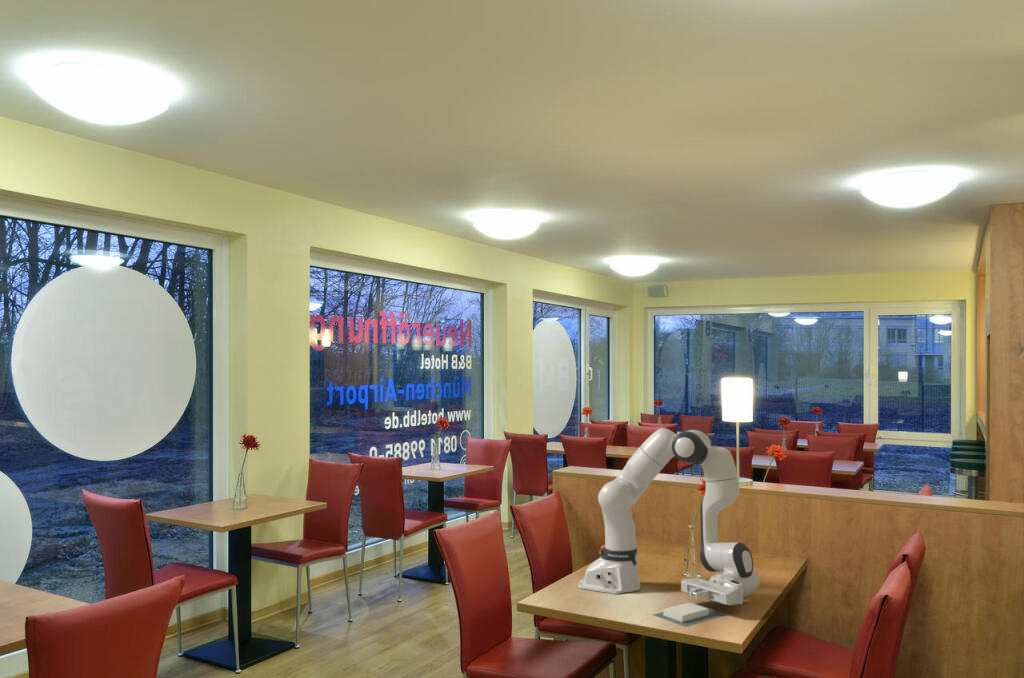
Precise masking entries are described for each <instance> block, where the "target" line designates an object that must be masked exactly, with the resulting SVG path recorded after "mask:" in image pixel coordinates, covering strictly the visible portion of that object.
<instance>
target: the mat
mask: <svg viewBox="0 0 1024 678" xmlns="http://www.w3.org/2000/svg"><path fill="white" fill-rule="evenodd" d="M695 604H696V605H699V606H702V607H705V608H708V611H709V616H705V617H702V618H698V619H695V620H691V621H687V622H684V623H681V622H678V621H675V620H673V619H670V618H667V617H664V616H663V611H662V612H657V613H654V614H653V616H654V617H657V618H660V619H663V620H666V621H667V622H672V623H673V624H677V625H680V626H682V627H687V628H688V627H690V626H693V625H694V626H695V625H698V624H701V623H704V622H708V621H710V620H714V619H715V620H716V619H718V618H721V617H725V616H728V615H730V614H729V613H726V612H723V611H719V610H717V609H714V608H710V607H707V606H705V605H702V604H698V603H695Z"/></svg>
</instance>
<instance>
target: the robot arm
mask: <svg viewBox="0 0 1024 678" xmlns="http://www.w3.org/2000/svg"><path fill="white" fill-rule="evenodd" d="M674 457H675V458H676V459H678V460H679V461H681V462H682V463H683V462H684V463H686V464H692V465H697V466H698V465H700V466H701V468H702V471H703V474H704V475H703V476H704V482H705V483H704V484H705V492H704V495H703V497H702V498H701V501H700V548H699V560H700V563H701V564H702V566H703V568H704V569H705V570H707V571H708V572H710V573H714V572H715V573H716V572H722V573H716V574H714V575H712V576H711V577H710V578H709V580H705V579H702V578H699V577H695V578H694V577H693V578H685V579H681V582H680V590H681V592H683V593H686V594H689V597H691V598H694V599H696V600H697V599H698V600H699V599H707V600H709V601H712V602H716V603H719V604H722V605H725V606H734V605H742V604H743V603H744V598H745V597H747V596H748V597H749V596H750V595H752V594H754V593H755V592H756V591H758V589H759V587H760V583H761V578H760V575H759V573H758V572H757V570H755V568H754V560H753V558H754V557H753V556H752V552H751V550H750V549H749V547H748V546H747V545H746V544H745V543H743V542H737V541H736V542H732V541H731V542H729V541H728V542H726V541H725V542H723V541H722V542H721V541H719V539H718V516H719V513H720V512H721V511H722V510H724V509H725V508H728V507H729V506H731V505H732V504H734V503H735V501H736V500H737V499H738V497H739V495H740V482H739V476H738V471H737V467H736V463H735V460H734V457H733V455H732V452H731V451H730V449H728V448H725V447H721V446H713V441H712V438H711V436H710V435H709V434H708V433H707V432H705V431H703V430H700V429H689V430H688V429H687V430H685V431H681V432H679V433H678V434H676V433H675V432H674V431H673V430H670V429H668V428H666V427H661V428H658V429H657V430H655V431H654V432H653V433H651V435H649V436H648V437H647V438H646V439H645V440H644V442H643V443H642V444H641V445H639V447H638V449H636V451H635V452H634V453H633V454H632V456H631V457H630V458H629V459H628V460H627V461H626V464H625V466H624V467H623V469H621V471H620V473H619V474H618V475H617V476H616V478H615V479H613V480H611V481H609V482H607V483H605V484H604V485H603V486H602V487H601V489H600V491H599V492H598V496H597V500H598V505H599V507H600V509H601V513H602V518H603V522H604V523H603V524H604V541H605V542H604V543H605V544H604V545H602V546H601V547H600V549H599V558H597V559H595V560H594V561H593V562H591V564H590V565H588V567H587V568H586V570H585V573H584V577H583V578H582V579H580V580H579V581H578V584H577V585H578V588H579V589H582V590H587V591H588V590H589V591H595V592H601V593H607V594H613V595H619V594H624V593H632V592H636V591H639V590H641V588H642V586H641V582H640V579H639V574H638V573H639V572H638V567H637V566H638V565H637V564H638V549H637V543H636V542H637V541H636V537H637V535H636V534H637V533H636V524H635V522H634V519H633V513H632V506H634V505H635V504H636V503H637V501H638V500H639V499H640V498H641V497H642V495H643V494H644V492H646V490H647V489H648V488H649V485H650V484H651V483H652V481H654V479H656V477H657V476H658V475H659V473H661V471H662V470H663V469H664V468H665V467H666V465H667V464H669V462H670V461H671V460H672V459H673V458H674Z"/></svg>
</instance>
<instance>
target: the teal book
mask: <svg viewBox="0 0 1024 678" xmlns="http://www.w3.org/2000/svg"><path fill="white" fill-rule="evenodd" d="M696 604H697V603H693V602H685V603H682V604H678V605H674V606H670V607H667V608H663V609H662V612H663V616H664V617H667V618H670V619H673V620H675V621H678V622H681V623H684V622H687V621H691V620H695V619H698V618H702V617H705V616H709V611H708V608H709V607H708V608H705V607H706V606H705V607H702V606H703V605H702V606H699V605H700V604H699V605H696Z"/></svg>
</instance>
